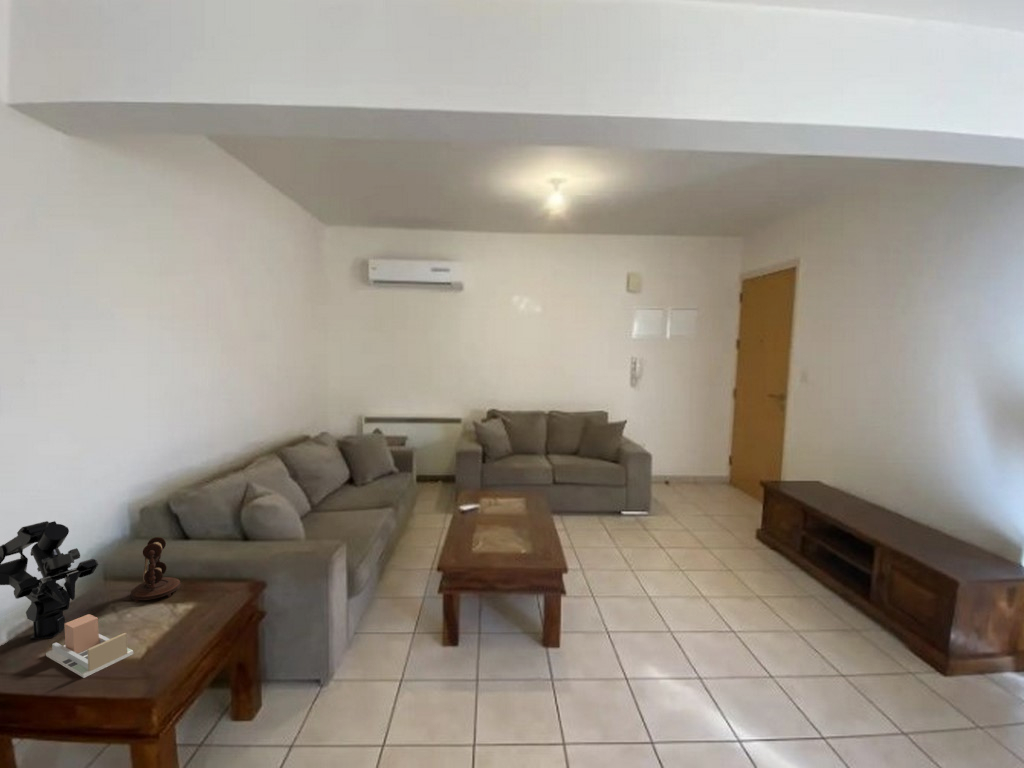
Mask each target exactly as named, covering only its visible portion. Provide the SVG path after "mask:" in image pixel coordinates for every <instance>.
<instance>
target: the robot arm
mask: <svg viewBox="0 0 1024 768" xmlns="http://www.w3.org/2000/svg"><path fill="white" fill-rule="evenodd" d="M69 532H70V531H69V527H68V526H66V525H64V524H62V523H57V522H56V521H55V520H54V521H48V520H45V521H42V522H38V523H33V524H30V525H26V526H25V525H24V526H21V527H20V529H18V531H17V532H16V536H15V537H13V538H12V539H10V540H8V541H7V542H5V543H4V544H1V545H0V586H10V587H12V588H13V596H14V597H15V599H22V598H24V597H25V598H27V599H28V600H29V601H31V602H30V605H28V608H27V609H26V611H25V614H26V615H25V616H26V619H27V620H29V621H32V622H33V623H32V625H33V635H31V636H30V637H29V639H30V640H36V639H52V638H54V637H55V636H57V635H58V634H60V633H61V632H62V631H65V627H64V624H65V623H66V618H65V615H64V611H67V610H69V607H70V602H71V601H74V600H75V598H76V582H77V581H78V579H79V578H83V577H88V576H90V575H92V574H94V572H95V570H96V569H97V567H98V566H99V563H98V561H97V560H96V559H95V558H89V559H87V560H84V561H80V562H79V563H78V565H77V567H75V568H71V567H72V564H73V563H75V560H79V559H81V553H80V551H79V549H78V548H73V549H70V550H68V551H67V553H63V552H62V553H61V551H60V549H59V548H60V547H61V546H62V545H63V543H64V541H65V540H66V538H67V537H68V535H69ZM33 544H34V545H33ZM31 545H33V546H32V548H31V549H30V556H33V558H34V560H35V564H36V565H37V569H36V570H37V572H39V573H40V575H41V576H42V577H41V578H39V579H38V577H37V576H33V575H32V574H30V573H29V572H27V570H28V569H27V568H28V561H29V558H28V557H27V556H26V555H25V554H24V553H23V552H24V550H25V549H27V548H28V547H29V546H30V547H31ZM16 554H20V558H17V559H14V560H9V561H7V562H4V560H5V559H6V557H9V556H12V555H16ZM3 562H4V563H3ZM70 568H71V569H70ZM62 579H63V580H65V582H63V586H62V585H60V583H58V582H57V581H59V580H60V581H61V580H62Z"/></svg>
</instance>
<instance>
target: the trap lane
mask: <svg viewBox="0 0 1024 768" xmlns="http://www.w3.org/2000/svg"><path fill="white" fill-rule="evenodd" d="M127 635H128V633H127V632H124V633H121V634H119V635H115V636H114V637H112V638H109V637H107V636H105V635H102V634H101V633H99V644H98V645H95V646H93V647H91V648H89V649H86V650H84V651H82V652H80V653H75V652H73V651H72V650H70V649H68V648H66V646H65V644H64V645H62V644H60V643H58V642H54V643H52V645H51V647H52V649H51V650H49V651H47V652H46V653H45V655H46V657H47V658H48V659H50V660H52V661H54V662H55V663H58V664H59V665H61V666H63V667H64V668H66V669H67V670H69V671H71V672H73V673H75V674H76V675H78V676H80V677H81V678H83V679H84V678H87V677H90V675H93V674H94V673H95V674H96V673H97V672H99V671H101V670H103V669H106V668H107V667H109V666H112V665H113V664H117V663H118V662H121V661H122V660H124V659H126V658H128V657H131V656H132V655H134V650H133V649H131V648H129V647H128V637H127Z"/></svg>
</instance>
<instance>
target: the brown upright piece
mask: <svg viewBox="0 0 1024 768" xmlns="http://www.w3.org/2000/svg"><path fill="white" fill-rule="evenodd" d="M165 547H166V540H165V539H164V538H163V537H160V536H156V537H152V538H151V539H150V540H148V542H147V544H146V545H145V547H144V548H143V550H142V555H143V557H144V567H143V568H144V569H143V574H142V579H143V582H142V583H140V584H138V585H136V586H135V587H134V588H132V589H131V591H130V597H131V598H132V599H133V600H134V602H135V603H139V601H147V600H149V601H150V600H155V599H157V598H158V599H159V598H162V597H165V596H167V597H168V598H170V597H171V595H172V593H174V592H176V591H177V590H178V589H179V588H180V587H181V580H179V578H175V577H170V576H169V577H167V576H164V574H165V573H166V572H167V564H166V563H165V562H163V561H161V558H162V552H163V550H164V549H165ZM148 563H149V564H148Z"/></svg>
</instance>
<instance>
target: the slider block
mask: <svg viewBox="0 0 1024 768" xmlns="http://www.w3.org/2000/svg"><path fill="white" fill-rule="evenodd" d="M64 627H65V629H64V638H65V639H64V642H65V644H64V645H65V646H66V648H68V649H70V650H72V651H73V652H75V653H80V652H82V651H84V650H86V649H89V648H91V647H93V646H95V645H98V644H99V634H100V631H99V618H98V617H96V616H95V615H92V614H90V613H88V614H85V615H83V616H81V617H80V616H79V617H78V618H75V619H72V620H71V621H67V622H65V624H64Z"/></svg>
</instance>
